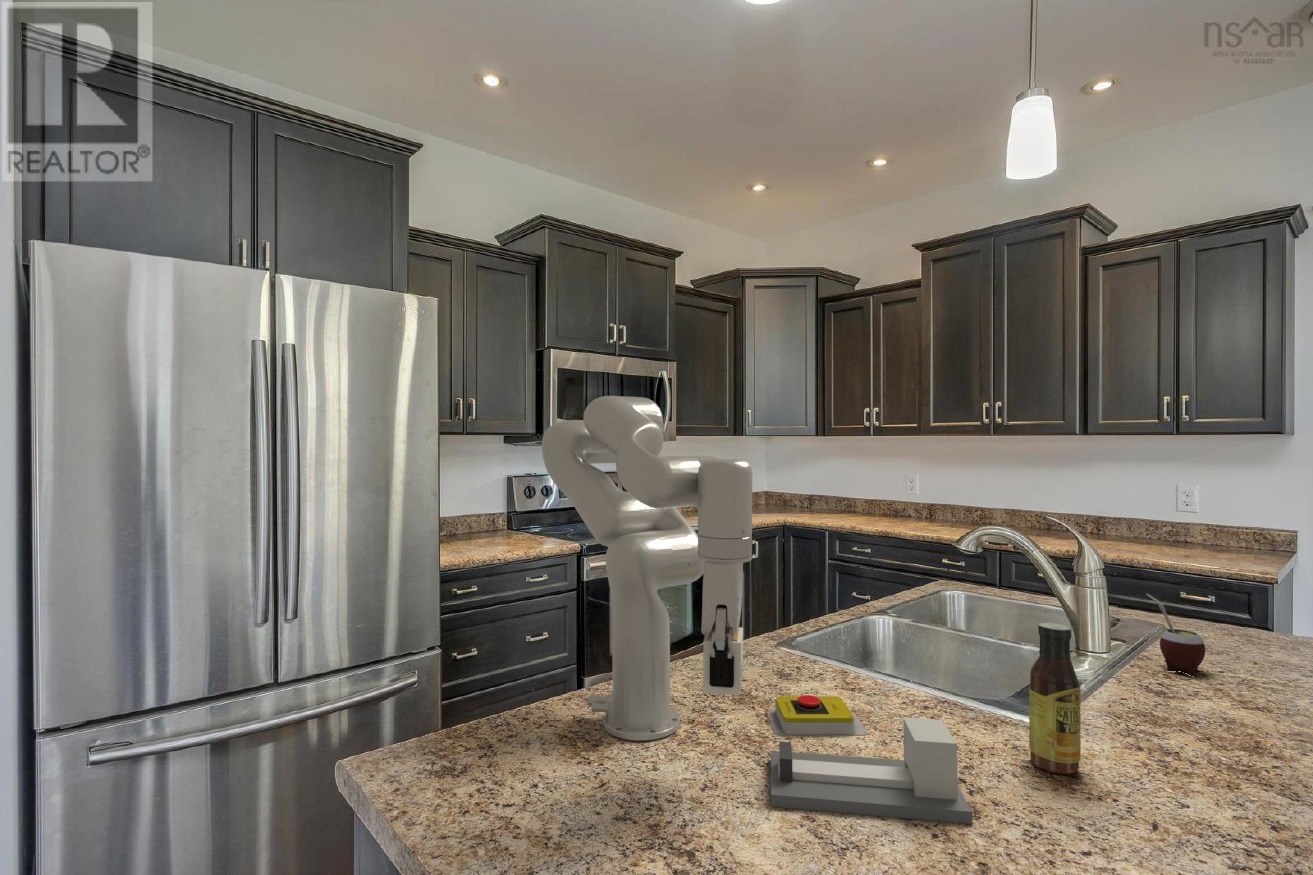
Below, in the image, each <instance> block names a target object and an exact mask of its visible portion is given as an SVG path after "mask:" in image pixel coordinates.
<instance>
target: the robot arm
mask: <svg viewBox="0 0 1313 875" xmlns="http://www.w3.org/2000/svg"><path fill="white" fill-rule="evenodd" d="M663 425H664V417H663V413H662V410H661V408H660V407H659V405H658V404H657V403H656V402H655V401H653V400H651V398H647V397H639V396H621V395H605V396H600V397H597V398H595V399H593V400H592V401H590V403H589V404H588V405H587V406H586V408H585V410H584V413H583V419H572V420H571V419H569V420H564V421H560V422H556V423H554V424H552V425H550V426H549V427H548V428H547V429H546V430H545V432H544V433H543V435H542V440H541V452H542V453H541V454H542V460H543V464H544V467H545V469H546V471H547V474H548V475H549V477H550V479H551V481H553V483H554V484H555V486H556V487H557V488H558V489H559V490H560V491H561V493H563V494H564V496H565V497H566V498H567V499H568V500H569V501H570V502H571V504H572V505H573V506H574V508H575V510H576V512H577V513H578V514H579V517H581V520H582V521H583V522H584V524H585V525H586V527H587V528H588V530H589V532H590V533H591V534H592V536H593V537H594V539H595V540H596V541H597V542H598V544H600V545H601V546H603V547H608V548H607V551H606V554H605V569H606V570H605V571H606V575H607V581H608V586H609V591H610V599H611V600H610V601H611V603H610V604H611V619H612V620H611V621H612V622H611V624H612V625H611V626H612V627H611V628H612V630H611V632H612V638H611V639H612V640H611V641H612V650H611V651H612V693H608V694H607V695H606V696H605V695H599V694H589V696H588V700H587V703H588V704H587V706H588V707H591V708H590V709H591V712H593V713H600V712H601V713H604V714H605V715H603V728H604V730H605V731H606V732H607V733H608V734H610V735H611V736H613V737H616V738H619V739H620V740H621V739H622V740H627V741H636V742H641V741H643V742H645V741H654V740H659V739H662V738H666V737H668V736H670V735H672V734H674V733H675V732H676V731H677V730H678V729H679V728H680V724H681V722H680V721H681V718H680V715H679V714H680V713H678V712H677V711H676V710H674V709H673V708H672V707H671V649H670V648H671V639H670V638H671V635H670V634H671V633H670V632H671V631H670V630H671V629H670V624H671V622H670V615H669V611H668V610H667V607H666V605H665V604H664V602H663V600H662V599H661V597H660V596H659V594H658V591H659V590H661V589H665V588H670V587H676V586H683V585H687V584H691V583H694V582H695V581H698V579H700V578H701V577H703V578H702V599H701V600H702V606H701V627H700V629H701V630H700V632H701V634H702V635H704V636H705V635H706V634H707V633H710V631H711V629H712V641H711V655H710V685H711V686H713V687H727V688H732V687H733V686H734V657H733V656H732V640H733V637H734V636H735V635H737V633H738V628H739V627H740V621H741V614H742V604H743V585H744V584H743V583H744V582H743V580H744V579H743V577H744V574H743V573H744V563H747V562H750V561H752V559H753V557H752V556H753V555H752V554H753V549H752V548H753V544H752V543H753V542H752V541H753V536H752V534H753V469H752V466H751V464H750V463H749V462H748V461H746V460H744V459H737V458H735V459H734V458H718V457H715V456H709V455H663V456H661V455H660V453H661V451H662V449H663V444H664V433H663V427H664V426H663ZM659 455H660V456H659ZM592 464H615V468H616V473H617V477H618V480H619V482H620V484H621V486H622V487H623V488H624V490H626V491H622V490H621V489H620V488H619V487H618V486H617V485H616V484H615V483H614V481H613V479H612V478H611V477H610V476H609V475H608V474H607V473H605V472H604V471H602V469H599V468H598V467H596V466H594V465H592ZM687 507H689V508H690V507H691V508H692V507H697V532H696V531H695V529H694V528H693V527H692V526H691V524H690V523H689V522H688V521H687V519H686V518H685V516H683V515H682V513H681V512H680V510H678V508H687ZM715 628H716V631H715ZM726 630H730V633H725V631H726ZM725 639H728V643H727V641H725Z"/></svg>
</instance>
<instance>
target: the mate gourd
mask: <svg viewBox="0 0 1313 875" xmlns="http://www.w3.org/2000/svg"><path fill="white" fill-rule="evenodd" d="M1145 595H1146V596H1147V597H1149V598H1150V599H1151V600H1153V601H1154V602H1155V603H1156V604H1157V605H1158V607H1159V609H1160V611H1161V612H1162V615H1163V616H1164V618H1165V621H1166V623H1167V625H1168V628H1167V629H1165V630H1164V632H1162V634H1161V635H1160V640H1159V647H1160V648H1159V649H1160V652H1161V654H1162V655H1163V658H1164V660H1165V663H1166V664H1165V665H1166V667H1167V669H1165V671H1166V670H1167V671H1176V672H1178V671H1181V672H1184V673H1187V674H1189V675H1191V676H1194V677H1197V678H1198V675H1197V674H1196V673H1195V672H1199V673H1200V669H1198V667H1199V666H1200V665H1201V664H1202V662H1203V661H1204V658H1205V655H1206V645H1205V641H1204V640H1203V638H1202V637H1201V636H1200V634H1199V633H1197V632H1194V631H1191V630H1187V629H1181V628H1174V627H1173V624H1172V623H1171V620H1170V618H1169V616H1168V613H1167V611H1166V607H1165V606H1164V604H1162V602H1161V601H1160V600H1158V599H1157V598H1155V597H1153V596H1152V595H1150V594H1148V593H1145Z"/></svg>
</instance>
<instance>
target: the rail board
mask: <svg viewBox="0 0 1313 875" xmlns="http://www.w3.org/2000/svg"><path fill="white" fill-rule="evenodd" d="M902 720H903V722H902V723H903V760H901V759H892V758H890V759H889V758H877V757H876V758H875V757H865V756H850V755H849V756H847V755H835V754H821V753H810V752H809V753H808V752H807V753H806V752H795V751H792V750H793V749H792V742H791V741H779V744H778V745H779V747H778V748H779V750H770V798H771V800H770V802H771V803H770V806H771V808H773V807H774V808H783V809H785V808H786V809H793V810H796V809H797V810H805V811H806V810H807V811H818V812H826V813H828V812H829V813H841V814H853V815H862V816H863V815H865V816H876V817H886V818H887V817H888V818H896V819H897V818H898V819H907V820H909V819H910V820H911V819H912V820H920V821H930V822H931V821H932V822H942V823H943V822H945V823H953V824H954V823H955V824H963V825H964V824H966V825H974V822H973V810H972V808H971V807H970V805H969V803H968V801H967V799H966V798H965V796H964V794H963V792H962V790H961V789H960V787H959V785H958V743H957V742H956V740H955V739H954V737H953V735H952V733H951V732H950V730H949V728H948V727H947V726H946V724H945V722H944V721H943V719H930V718H916V717H915V718H914V717H903V719H902Z"/></svg>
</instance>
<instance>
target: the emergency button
mask: <svg viewBox="0 0 1313 875" xmlns="http://www.w3.org/2000/svg"><path fill="white" fill-rule="evenodd" d="M774 709H775V710H769V711H767V712H766V715H767V717H768V721H769V723H770V725H771V729H772V730H773V734H775V735H776V736H786V737H787V736H788V737H789V736H793V737H795V736H803V737H804V736H811V737H812V736H813V737H814V736H815V737H816V736H817V737H819V736H821V737H822V736H825V737H826V736H828V737H829V736H835V737H837V736H841V737H842V736H845V737H846V736H847V737H849V736H850V737H851V736H852V737H854V736H860V737H861V736H862V737H863V736H868V735H869V731H868V730H867V728H866V727H865V726H864V724H863V723H862V721H861V720H860V719H859V717H858V715H857V714H856V713H855V712H854V711H852V710H850V708H848V706H847V704H846V703H845V701H844V700H843V699H842V698H841V697H840V696H837V695H836V696H834V695H833V696H832V695H831V696H829V695H828V696H827V695H825V696H822V695H821V696H820V695H819V696H816V695H815V696H814V695H809V694H807V695H800V696H798V695H797V696H795V695H794V696H777V697H776V698H775V708H774Z"/></svg>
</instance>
